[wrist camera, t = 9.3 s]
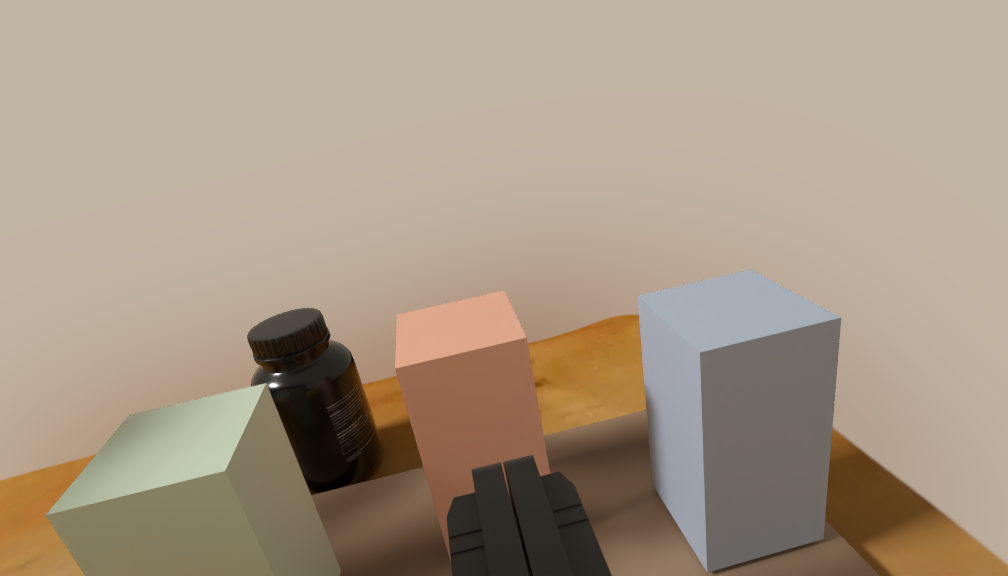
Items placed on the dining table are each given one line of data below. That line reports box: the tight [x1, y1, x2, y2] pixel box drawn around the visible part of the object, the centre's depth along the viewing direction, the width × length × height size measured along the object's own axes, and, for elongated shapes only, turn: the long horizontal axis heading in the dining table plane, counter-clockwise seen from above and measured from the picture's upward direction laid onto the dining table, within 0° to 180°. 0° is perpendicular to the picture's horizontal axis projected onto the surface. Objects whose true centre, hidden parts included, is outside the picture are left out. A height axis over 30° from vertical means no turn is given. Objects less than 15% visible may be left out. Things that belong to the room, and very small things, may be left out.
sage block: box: [46, 383, 341, 576], centre depth 23 cm, size 6×6×12 cm
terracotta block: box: [395, 291, 550, 561], centre depth 29 cm, size 6×6×12 cm
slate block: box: [638, 270, 841, 573], centre depth 26 cm, size 6×6×12 cm
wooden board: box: [311, 410, 880, 576], centre depth 29 cm, size 16×32×1 cm, turn 100°
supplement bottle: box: [247, 308, 382, 495], centre depth 37 cm, size 7×7×12 cm
